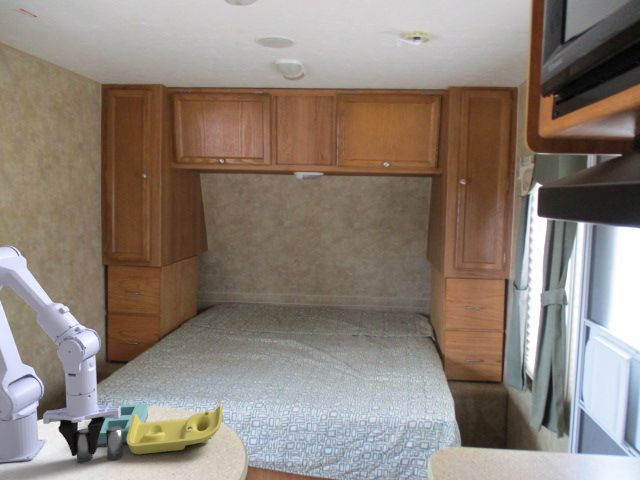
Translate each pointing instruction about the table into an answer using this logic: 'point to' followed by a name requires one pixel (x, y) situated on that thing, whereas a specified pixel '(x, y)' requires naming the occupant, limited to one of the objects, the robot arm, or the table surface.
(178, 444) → the plastic component
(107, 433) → the peg
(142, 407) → the housing
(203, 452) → the table surface
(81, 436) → the peg
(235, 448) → the table surface
